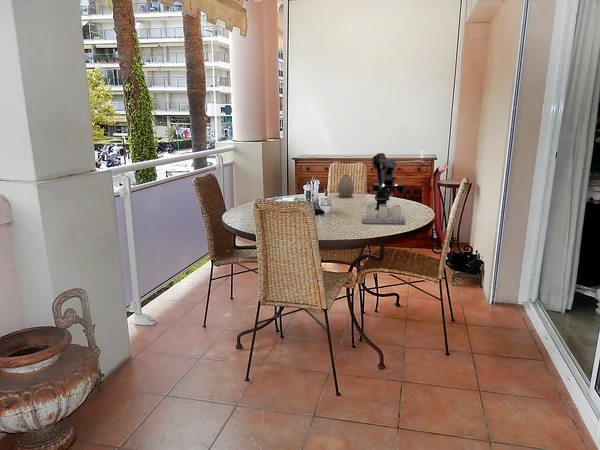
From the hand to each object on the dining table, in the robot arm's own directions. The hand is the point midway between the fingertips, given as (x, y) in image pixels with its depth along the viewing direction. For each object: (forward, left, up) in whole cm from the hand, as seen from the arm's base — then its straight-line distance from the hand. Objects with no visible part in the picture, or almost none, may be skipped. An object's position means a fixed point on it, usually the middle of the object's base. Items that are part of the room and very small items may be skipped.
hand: (387, 198), depth 266 cm
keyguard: (+10, +5, -12) cm, 16 cm away
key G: (+14, -1, -13) cm, 19 cm away
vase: (-33, -71, -13) cm, 79 cm away
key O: (+2, +8, -13) cm, 15 cm away
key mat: (+9, +4, -13) cm, 16 cm away
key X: (+7, +3, -13) cm, 15 cm away
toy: (+34, -45, -13) cm, 58 cm away
